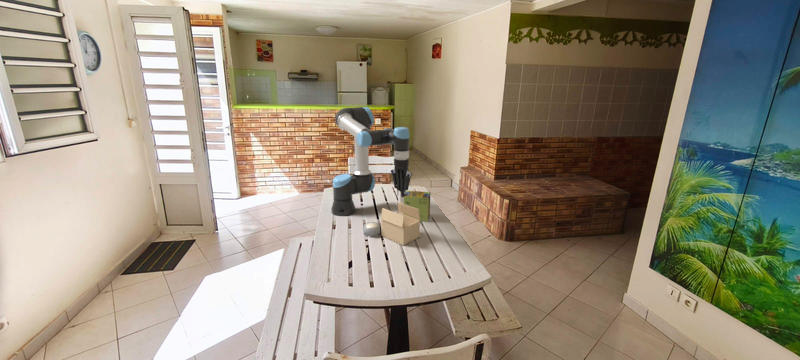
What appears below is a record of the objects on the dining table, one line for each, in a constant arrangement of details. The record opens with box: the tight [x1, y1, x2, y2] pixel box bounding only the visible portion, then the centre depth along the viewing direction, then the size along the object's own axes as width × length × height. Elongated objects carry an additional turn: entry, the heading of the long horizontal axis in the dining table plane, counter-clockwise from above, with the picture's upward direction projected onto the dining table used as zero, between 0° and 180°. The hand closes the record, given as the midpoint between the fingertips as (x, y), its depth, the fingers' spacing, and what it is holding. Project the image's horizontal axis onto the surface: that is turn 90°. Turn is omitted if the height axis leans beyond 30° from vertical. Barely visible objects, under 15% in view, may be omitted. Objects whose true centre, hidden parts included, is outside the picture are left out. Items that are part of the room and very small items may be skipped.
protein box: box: [402, 190, 431, 223], centre depth 208 cm, size 10×15×16 cm
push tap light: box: [363, 221, 381, 238], centre depth 188 cm, size 9×9×5 cm
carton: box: [380, 211, 421, 246], centre depth 184 cm, size 17×13×10 cm
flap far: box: [397, 201, 420, 219], centre depth 186 cm, size 15×6×1 cm
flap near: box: [380, 207, 404, 227], centre depth 177 cm, size 15×6×1 cm
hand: (401, 202), depth 179 cm, fingers closed
